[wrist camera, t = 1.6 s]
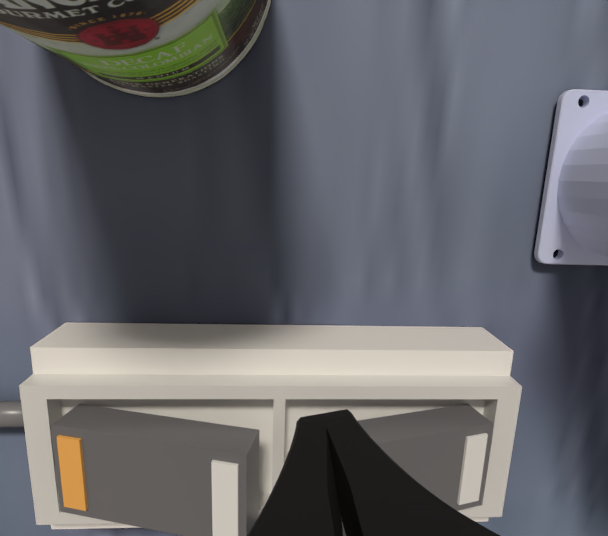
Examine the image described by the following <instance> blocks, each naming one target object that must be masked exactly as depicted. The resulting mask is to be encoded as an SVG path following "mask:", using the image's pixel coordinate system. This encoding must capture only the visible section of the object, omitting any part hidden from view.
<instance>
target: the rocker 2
mask: <svg viewBox="0 0 608 536" xmlns="http://www.w3.org/2000/svg"><path fill="white" fill-rule="evenodd" d="M358 423H359V424H360V425H361V426H362V428H363V429H364V430H365V431H366V432H367V434H368V435H369V436H370V437H371V438H372V439H373V440H374V441H375V443H376V444H377V445H378V446H379V447H380V448H381V449H382V450H383V451H384V452H385V453H386V454H387V455H388V456H389V457H390V458H391V459H392V460H393V461H394V462H395V463H397V464H398V465H399V466H400V467H401V468H402V469H403V470H404V471H405V472H407V473H408V474H409V475H410V476H411V477H412V478H413V479H415V480H416V481H417V482H418V483H420V484H421V485H422V486H423V487H425V488H426V489H427V490H428V491H430V492H431V493H432V494H434V495H435V496H437V497H438V498H439V499H441V500H442V501H443V502H445V503H446V504H448V505H449V506H451V507H452V508H454V509H455V510H457V511H459V510H463V509H467V508H471V507H475V506H480V505H481V503H482V496H483V490H484V483H485V476H486V469H487V462H488V455H489V448H490V441H491V435H492V428H493V423H492V422H491V421H489V420H488V419H487V418H486V417H484V416H483V415H482V414H480V413H479V412H478V411H477V410H475V409H474V408H473V407H472V406H470V405H469V404H462V405H456V406H449V407H443V408H436V409H430V410H423V411H417V412H410V413H404V414H397V415H391V416H384V417H378V418H371V419H365V420H358ZM342 530H343V536H346V534H345V530H344V526H343V523H342Z"/></svg>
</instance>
